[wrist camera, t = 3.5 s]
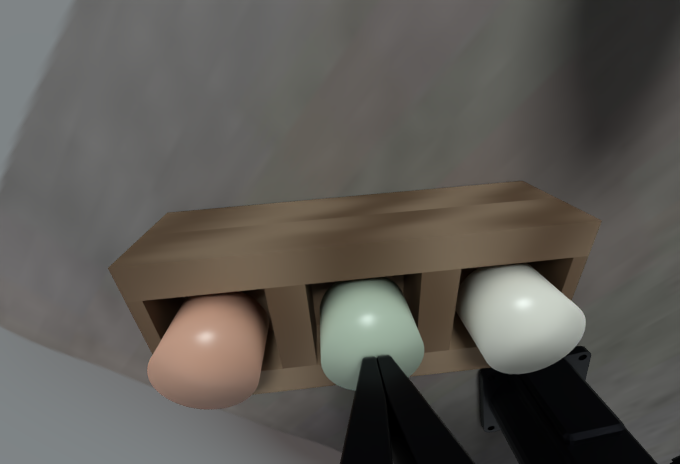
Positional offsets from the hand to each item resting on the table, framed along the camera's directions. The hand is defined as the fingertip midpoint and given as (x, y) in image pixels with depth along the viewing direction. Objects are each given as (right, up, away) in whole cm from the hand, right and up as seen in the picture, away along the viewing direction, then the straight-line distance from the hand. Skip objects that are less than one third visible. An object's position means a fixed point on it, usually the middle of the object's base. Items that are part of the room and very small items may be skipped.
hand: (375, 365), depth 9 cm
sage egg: (0, +1, +2) cm, 2 cm away
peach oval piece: (-5, +1, +2) cm, 6 cm away
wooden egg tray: (-1, +3, +5) cm, 6 cm away
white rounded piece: (+5, +2, +2) cm, 6 cm away
